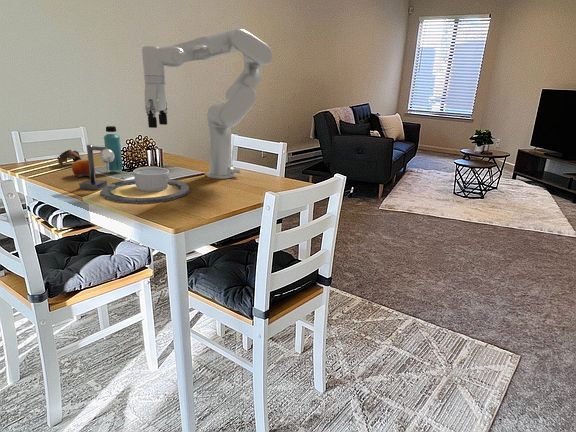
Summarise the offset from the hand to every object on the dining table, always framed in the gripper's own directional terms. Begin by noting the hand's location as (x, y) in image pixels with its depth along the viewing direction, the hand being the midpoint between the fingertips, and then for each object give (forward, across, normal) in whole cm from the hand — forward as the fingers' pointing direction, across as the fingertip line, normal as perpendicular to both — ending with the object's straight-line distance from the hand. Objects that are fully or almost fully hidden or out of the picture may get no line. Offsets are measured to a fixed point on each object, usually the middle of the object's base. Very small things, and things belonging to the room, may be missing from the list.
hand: (158, 125), depth 164 cm
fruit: (+22, +2, -34) cm, 40 cm away
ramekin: (+23, +11, +1) cm, 25 cm away
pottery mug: (+22, -14, -50) cm, 56 cm away
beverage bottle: (+22, -7, -25) cm, 34 cm away
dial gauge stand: (+22, +17, -17) cm, 33 cm away
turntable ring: (+22, +16, +1) cm, 28 cm away
